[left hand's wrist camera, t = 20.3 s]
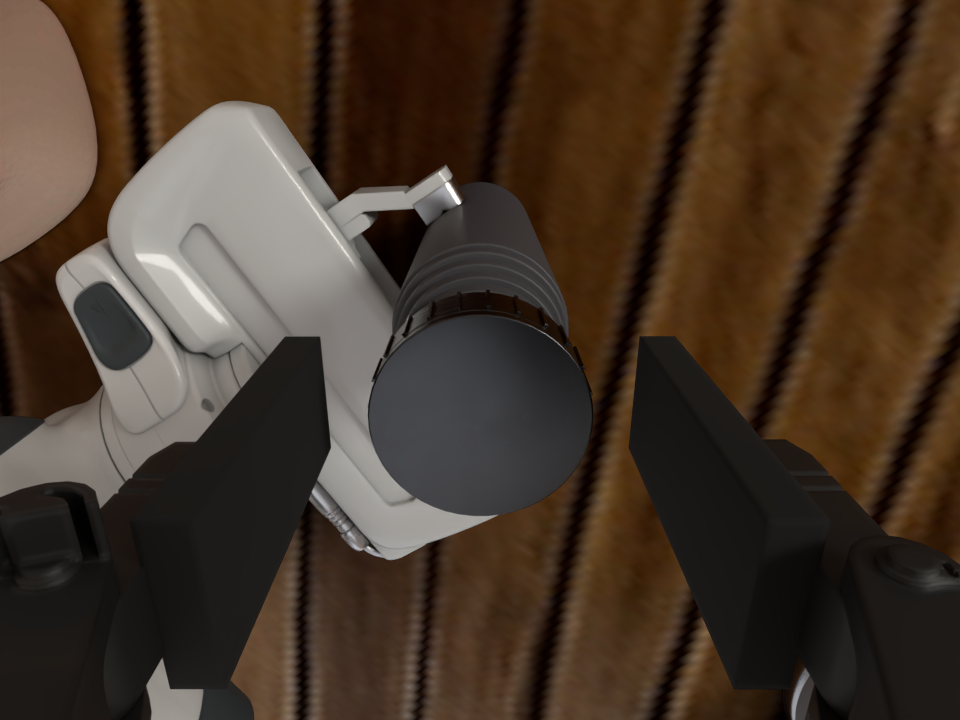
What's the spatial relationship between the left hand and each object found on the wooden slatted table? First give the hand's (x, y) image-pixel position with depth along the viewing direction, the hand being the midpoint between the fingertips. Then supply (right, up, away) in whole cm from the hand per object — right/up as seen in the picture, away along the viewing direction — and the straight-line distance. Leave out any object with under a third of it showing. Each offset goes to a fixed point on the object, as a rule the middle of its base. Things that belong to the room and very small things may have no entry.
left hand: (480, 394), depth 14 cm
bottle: (0, +7, +18) cm, 19 cm away
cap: (0, 0, -1) cm, 1 cm away
